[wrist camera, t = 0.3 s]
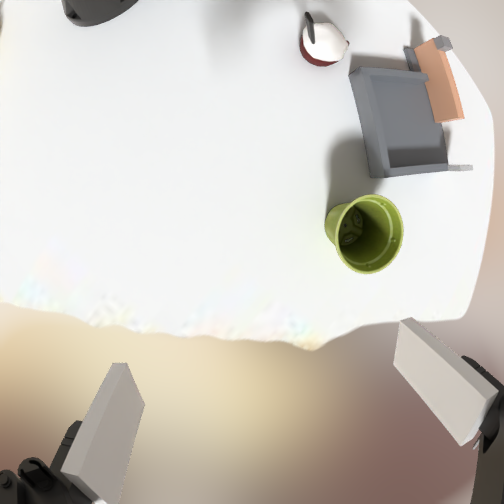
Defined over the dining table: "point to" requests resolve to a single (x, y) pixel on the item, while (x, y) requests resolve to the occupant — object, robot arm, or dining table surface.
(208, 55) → the dining table surface
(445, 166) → the box
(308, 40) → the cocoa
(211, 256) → the dining table surface
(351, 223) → the plant pot
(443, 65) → the cover
